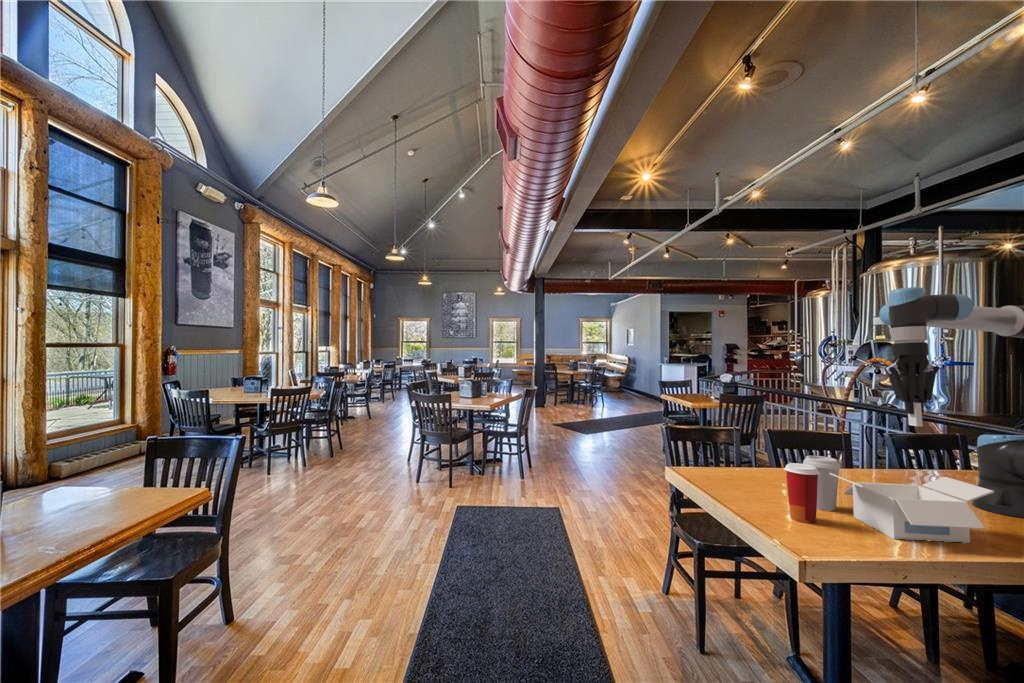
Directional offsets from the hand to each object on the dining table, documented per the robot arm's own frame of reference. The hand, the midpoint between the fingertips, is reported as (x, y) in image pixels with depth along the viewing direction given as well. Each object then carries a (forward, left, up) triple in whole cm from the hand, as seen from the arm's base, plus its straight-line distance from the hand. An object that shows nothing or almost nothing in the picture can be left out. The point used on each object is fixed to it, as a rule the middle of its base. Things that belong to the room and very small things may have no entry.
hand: (915, 425), depth 119 cm
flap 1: (+19, +5, -16) cm, 25 cm away
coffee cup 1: (+31, +1, -27) cm, 41 cm away
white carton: (+7, +5, -27) cm, 28 cm away
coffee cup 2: (+19, -11, -27) cm, 35 cm away
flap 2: (-5, +5, -15) cm, 17 cm away
